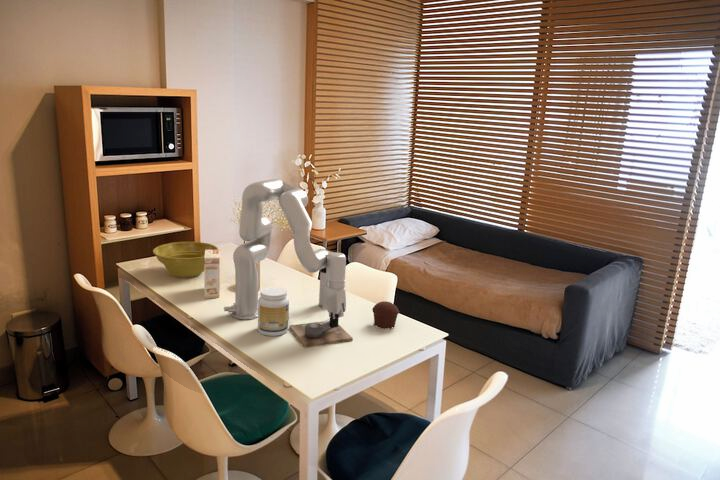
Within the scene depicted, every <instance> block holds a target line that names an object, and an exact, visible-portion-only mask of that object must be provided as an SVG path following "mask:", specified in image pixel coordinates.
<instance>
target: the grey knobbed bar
mask: <svg viewBox="0 0 720 480" xmlns="http://www.w3.org/2000/svg"><path fill="white" fill-rule="evenodd" d="M320 322H321V323H319V324H318V323H314V322H308V323H309V324H307V325H305V336H306V337H308V338H312V339H316V338H320V337H322V336H323V332H324V331H326V330H328V329H330V328H331V327H330V318H328V319H326V320H324V322H322V321H320Z"/></svg>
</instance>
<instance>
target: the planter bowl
mask: <svg viewBox="0 0 720 480" xmlns="http://www.w3.org/2000/svg"><path fill="white" fill-rule="evenodd" d="M205 250H219V247H217V246H216V245H214V244H211V243H208V242H203V241H202V242H200V241H177V242H176V241H175V242H169V243H164V244H161V245H158V246H156V247H155V248H153V250H152V253H153V255H155V256H156V257H155V258H156V259H157V260H158V262H160V263H161V264H163V265H164V267H165V269H166V270H167V271H168V273H169V274H170V275H172V276H173V275H174V277H176V276H177V277H176V278H181V277H188V278H193V277H194V276H195V277H197V275H198V276H200V275H201V274H203V273H204V256H205ZM199 274H200V275H199ZM195 277H194V278H195Z"/></svg>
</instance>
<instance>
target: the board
mask: <svg viewBox="0 0 720 480" xmlns="http://www.w3.org/2000/svg"><path fill="white" fill-rule="evenodd" d="M324 321H325V320H324ZM324 321H323V320H322V321H315V322H313V323H318V324H319V323H321V322H324ZM309 323H310V322H308V323H307V322H306V323H298V324H292V325H291V324H290V325H289V324H288V330H290V331H291V332H292V334H293V335H294V337H296V338H297V340H298V341H299V343H300V344H301V345H302V346H303V347H304V348H311V347H319V346H323V345H324V346H325V345H331V344H339V343H340V344H341V343H346V342H352V341H353V337H352V336H351V335H350V334H349V333H348V332H347V331H346V330H345V329H344V328H343V327H342V325H340V324H339V323H338V327H335V328H330V329H328V330H326V331H324V332H323V336H322V337H320V338H316V339H312V338H308V337H306V336H305V325H307V324H309Z"/></svg>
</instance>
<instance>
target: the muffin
mask: <svg viewBox="0 0 720 480" xmlns="http://www.w3.org/2000/svg"><path fill="white" fill-rule="evenodd" d="M372 313H373V320H374V321H373V322H374V326H376V327H377V328H378V329H382V328H383V330H389V329H390V330H391V329H393V328H395V326H396V322H397V319H398V318H397V317H398V315H399V314H400V310H399V309H398V306H396V305H395V303H392V302H390V301H386V300H385V301H379V302H377V303H376V304H375V305H374V306H373V307H372ZM392 327H393V328H392ZM388 328H389V329H388Z"/></svg>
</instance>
